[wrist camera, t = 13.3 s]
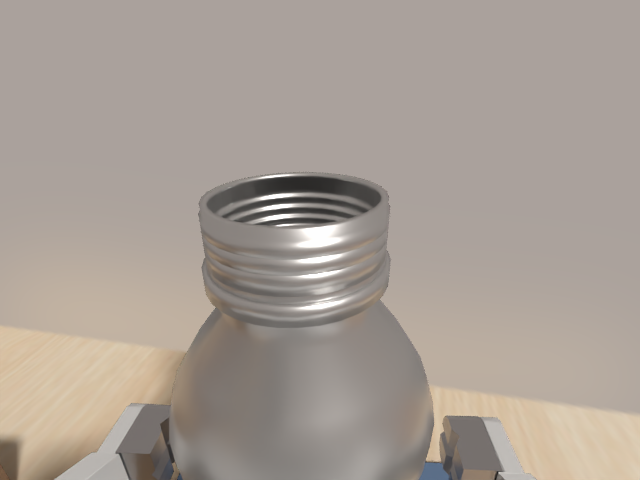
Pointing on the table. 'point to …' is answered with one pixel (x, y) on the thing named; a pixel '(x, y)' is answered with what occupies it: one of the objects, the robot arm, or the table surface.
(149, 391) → the table surface
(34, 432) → the table surface
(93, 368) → the table surface
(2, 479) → the walnut holder
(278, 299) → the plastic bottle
